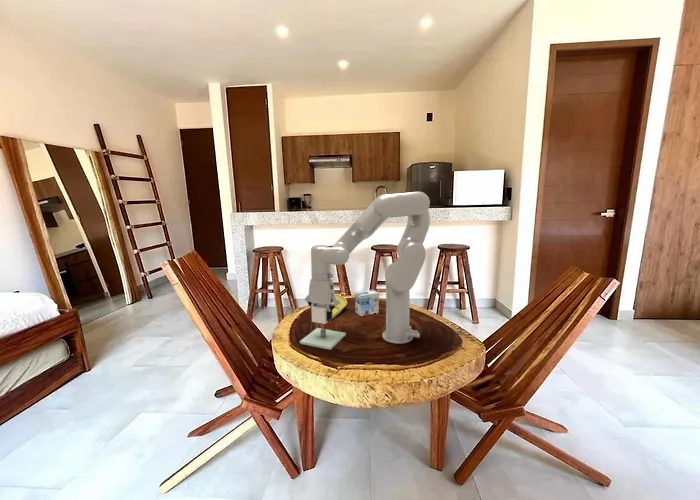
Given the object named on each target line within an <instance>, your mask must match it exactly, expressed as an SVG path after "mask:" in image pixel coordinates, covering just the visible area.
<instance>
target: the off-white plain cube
mask: <svg viewBox="0 0 700 500" xmlns="http://www.w3.org/2000/svg"><path fill="white" fill-rule="evenodd" d="M310 310H311V323H317V324H323V325H325V324H328V322H329V321H327V311H328V310H327V307H326V305H323V304H317V305H315V306H313V307H312V308H310Z"/></svg>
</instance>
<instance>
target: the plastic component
mask: <svg viewBox="0 0 700 500" xmlns="http://www.w3.org/2000/svg"><path fill="white" fill-rule="evenodd" d="M335 298H336V299H337V301H338V302H339V304H338V305H337V306H336V307H335V308H334V309H333V310H332V319H331V320H333V319H334V318H336V317H337V316H338V315H339V314H340V313H341V312H342V311H343V309H345V307H346V306H347V304H348V301H347V299H346V298H345V297H344V296H343V295H341V294H340V293H335ZM331 303H332V305H333V304H334V302H331Z"/></svg>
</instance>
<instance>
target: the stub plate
mask: <svg viewBox="0 0 700 500" xmlns="http://www.w3.org/2000/svg"><path fill="white" fill-rule="evenodd" d="M346 335H347V333H346V332H342V331H337V330H331V329H327V328H326V329H325V328H319V327H316V328H315V329H313V330H312V331H311V332H310V333H309V334H308V335H306V336H305V337H303V338H301V340H299V344H301V345H306V346H309V347H314V348H315V347H316V348H320V349H325V350H332V349H333V348H335V346H337V344H338V343H339V342H341V340H342V339H344V337H346Z"/></svg>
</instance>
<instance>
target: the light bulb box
mask: <svg viewBox="0 0 700 500" xmlns="http://www.w3.org/2000/svg"><path fill="white" fill-rule="evenodd" d="M379 294H380V293H379V292H377V291H376V290H375V289H367V290H361V291H355V292H354V296H355V297H354V303H355V304H354V307H355V309H354V310H355V313H356V314H357V315H359V316H360V317H363V316H364V315H365V316H370V315H375V314H374V313H376V314H379V313H380V312H379V308H380V307H379V297H380V296H379ZM369 314H370V315H369Z"/></svg>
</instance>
